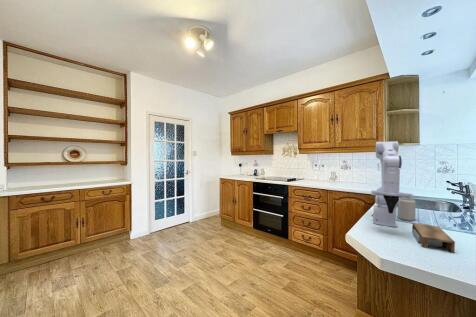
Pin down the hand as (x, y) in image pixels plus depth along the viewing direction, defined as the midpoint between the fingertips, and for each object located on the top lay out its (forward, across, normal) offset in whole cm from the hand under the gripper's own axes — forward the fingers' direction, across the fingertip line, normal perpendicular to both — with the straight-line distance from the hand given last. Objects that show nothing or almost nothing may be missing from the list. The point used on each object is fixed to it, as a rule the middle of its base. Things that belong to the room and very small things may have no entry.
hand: (390, 212), depth 91 cm
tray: (+9, +12, -1) cm, 15 cm away
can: (+10, +10, +30) cm, 33 cm away
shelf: (+9, +13, -1) cm, 16 cm away
